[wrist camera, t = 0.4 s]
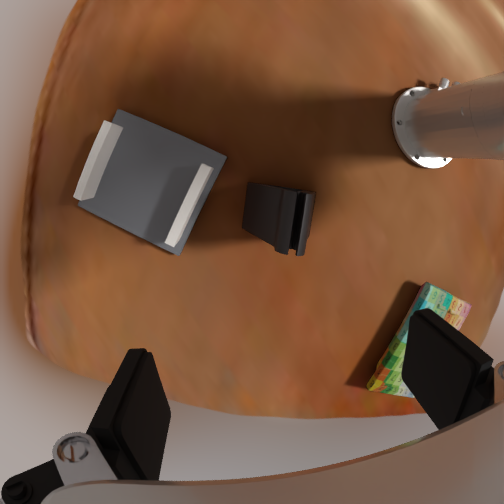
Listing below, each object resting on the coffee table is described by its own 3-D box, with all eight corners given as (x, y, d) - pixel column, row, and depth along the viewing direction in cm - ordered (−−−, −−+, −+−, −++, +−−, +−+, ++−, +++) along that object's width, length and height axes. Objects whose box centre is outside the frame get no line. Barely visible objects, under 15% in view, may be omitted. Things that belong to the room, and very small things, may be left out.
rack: (121, 110, 35) (106, 102, 30) (227, 157, 38) (226, 154, 33) (82, 204, 38) (63, 209, 33) (180, 253, 41) (173, 265, 36)
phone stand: (315, 192, 40) (347, 200, 28) (308, 235, 41) (335, 260, 30) (247, 181, 39) (253, 185, 27) (241, 227, 41) (244, 250, 29)
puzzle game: (474, 306, 42) (416, 400, 46) (459, 296, 46) (405, 386, 50) (434, 286, 40) (370, 393, 44) (418, 276, 44) (360, 377, 49)
